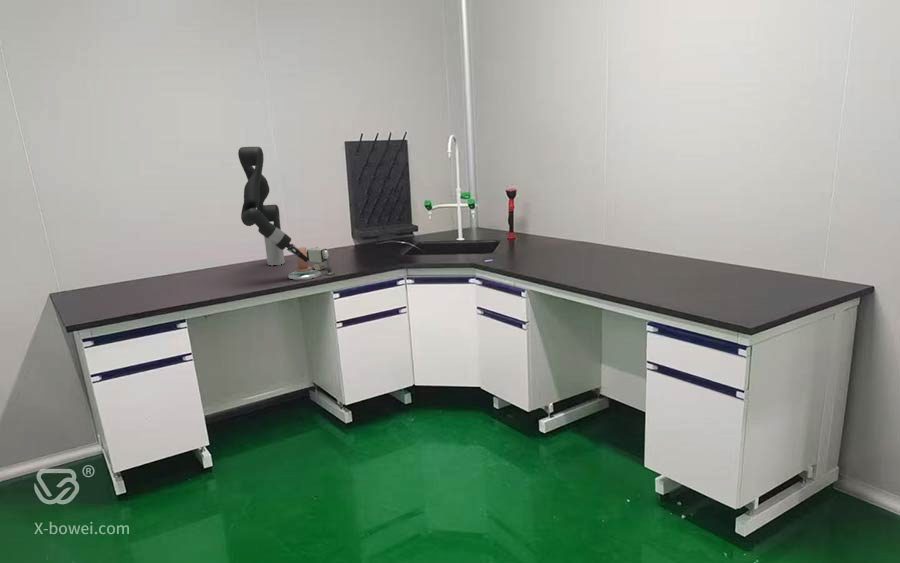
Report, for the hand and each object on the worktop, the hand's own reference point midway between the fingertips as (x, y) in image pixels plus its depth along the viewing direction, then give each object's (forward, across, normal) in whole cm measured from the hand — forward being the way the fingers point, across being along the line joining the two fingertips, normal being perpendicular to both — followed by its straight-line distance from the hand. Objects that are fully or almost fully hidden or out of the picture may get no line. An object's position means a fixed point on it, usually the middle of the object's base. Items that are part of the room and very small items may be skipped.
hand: (306, 259), depth 288 cm
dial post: (+13, -3, -1) cm, 14 cm away
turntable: (+5, 0, +7) cm, 9 cm away
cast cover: (+2, 0, +5) cm, 6 cm away
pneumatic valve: (+12, +12, 0) cm, 17 cm away
